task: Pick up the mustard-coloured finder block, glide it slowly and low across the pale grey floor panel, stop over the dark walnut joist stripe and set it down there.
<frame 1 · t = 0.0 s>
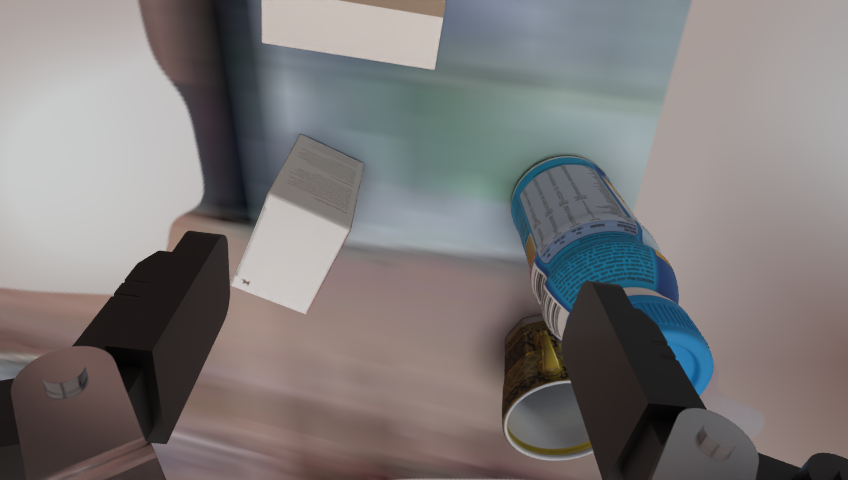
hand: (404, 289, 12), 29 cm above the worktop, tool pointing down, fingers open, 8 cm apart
small box: (315, 186, 43), on the worktop
teal labeled canister: (558, 198, 44), on the worktop
ceramic cup: (536, 327, 52), on the worktop
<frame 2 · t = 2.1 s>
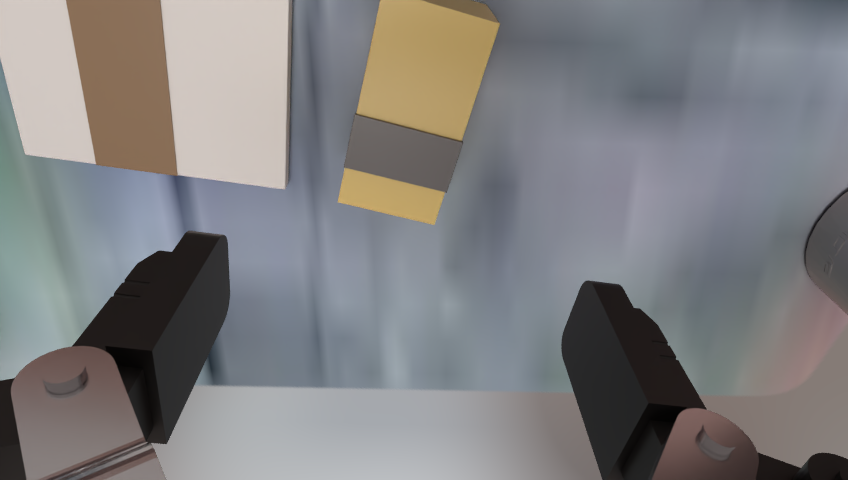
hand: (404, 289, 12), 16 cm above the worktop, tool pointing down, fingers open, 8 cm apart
finder block: (413, 87, 26), on the worktop
floor panel: (151, 49, 25), on the worktop
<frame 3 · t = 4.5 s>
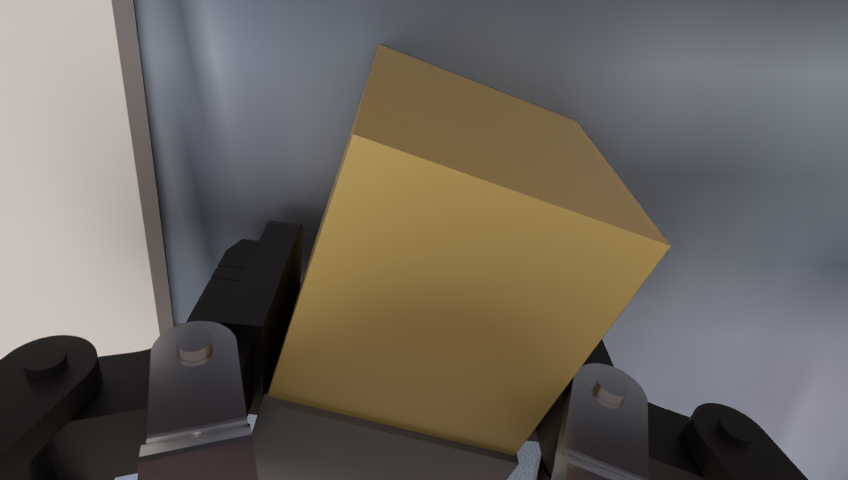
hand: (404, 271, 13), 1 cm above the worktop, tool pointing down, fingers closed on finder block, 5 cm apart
finder block: (407, 253, 13), on the worktop, touching gripper
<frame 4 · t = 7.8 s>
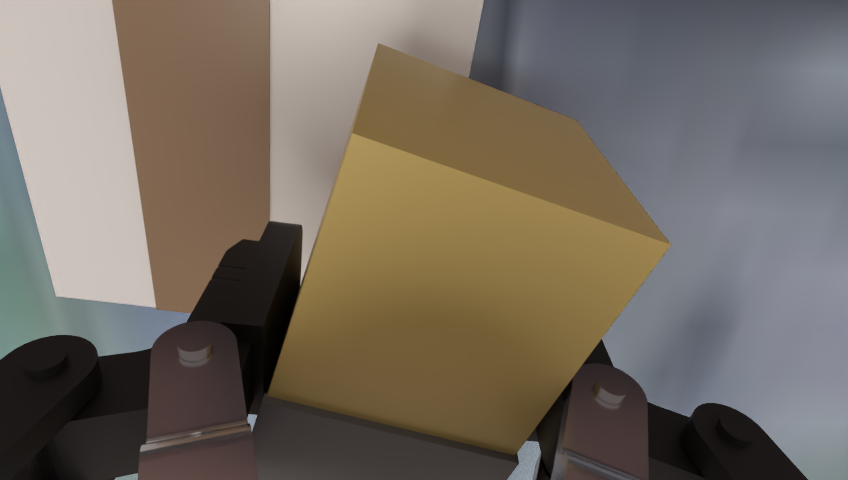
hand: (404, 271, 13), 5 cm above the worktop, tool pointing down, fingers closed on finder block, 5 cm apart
finder block: (407, 253, 13), point 5 cm above the worktop, touching gripper
floor panel: (244, 157, 17), on the worktop
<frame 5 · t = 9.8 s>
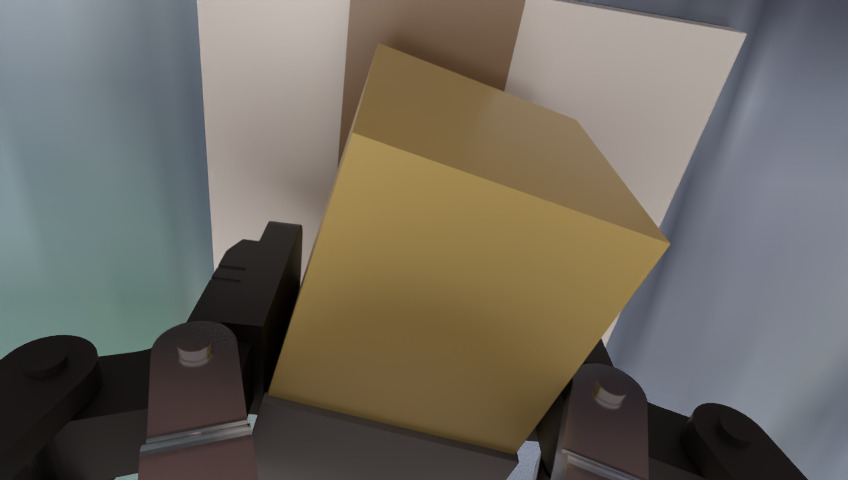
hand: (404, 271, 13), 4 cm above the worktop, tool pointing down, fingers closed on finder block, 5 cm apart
finder block: (407, 252, 13), point 3 cm above the worktop, touching gripper
floor panel: (438, 201, 16), on the worktop
when the fingers open (2 cm above the worktop, at t = 11.5 s): finder block stays where it is, resting on floor panel.
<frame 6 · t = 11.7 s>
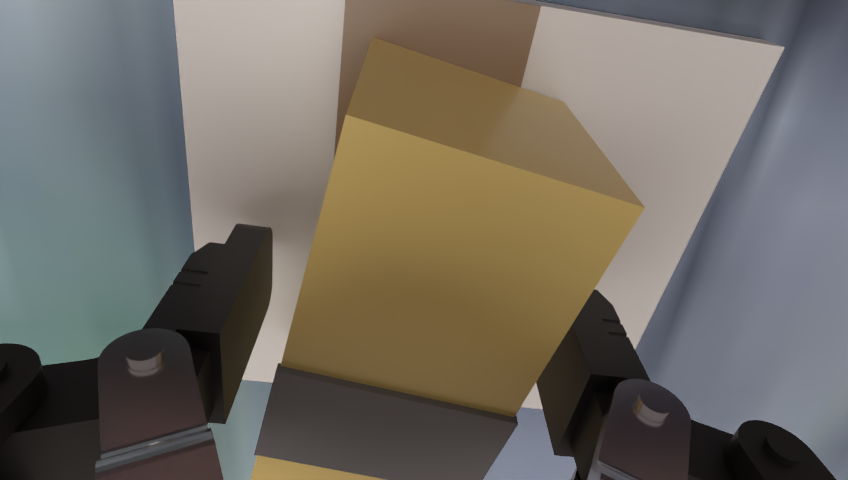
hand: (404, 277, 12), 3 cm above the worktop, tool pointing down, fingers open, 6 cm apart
finder block: (409, 237, 14), point 1 cm above the worktop, touching floor panel
floor panel: (441, 225, 15), on the worktop
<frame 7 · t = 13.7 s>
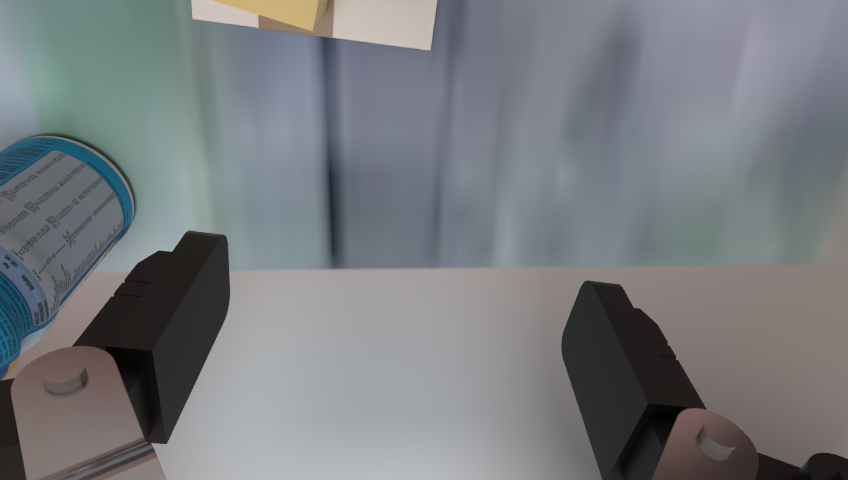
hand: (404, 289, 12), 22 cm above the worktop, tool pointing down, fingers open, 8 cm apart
teal labeled canister: (73, 190, 35), on the worktop
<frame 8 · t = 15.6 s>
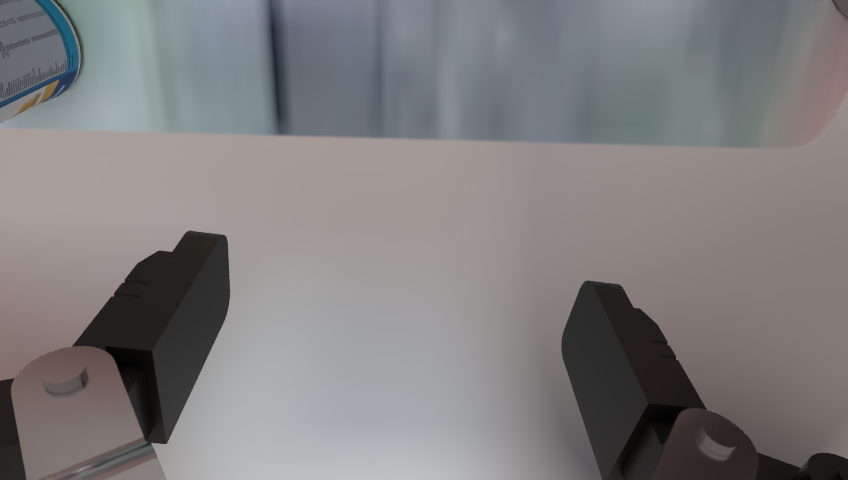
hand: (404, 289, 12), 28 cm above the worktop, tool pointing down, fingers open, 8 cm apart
teal labeled canister: (22, 36, 36), on the worktop
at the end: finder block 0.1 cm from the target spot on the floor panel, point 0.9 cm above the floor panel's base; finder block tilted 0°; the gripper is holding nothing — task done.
